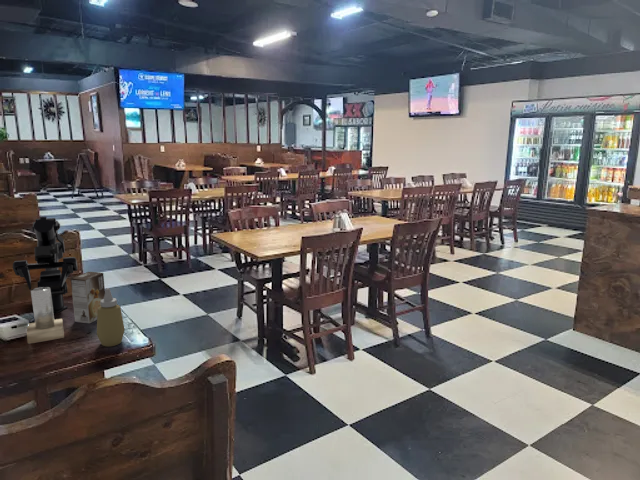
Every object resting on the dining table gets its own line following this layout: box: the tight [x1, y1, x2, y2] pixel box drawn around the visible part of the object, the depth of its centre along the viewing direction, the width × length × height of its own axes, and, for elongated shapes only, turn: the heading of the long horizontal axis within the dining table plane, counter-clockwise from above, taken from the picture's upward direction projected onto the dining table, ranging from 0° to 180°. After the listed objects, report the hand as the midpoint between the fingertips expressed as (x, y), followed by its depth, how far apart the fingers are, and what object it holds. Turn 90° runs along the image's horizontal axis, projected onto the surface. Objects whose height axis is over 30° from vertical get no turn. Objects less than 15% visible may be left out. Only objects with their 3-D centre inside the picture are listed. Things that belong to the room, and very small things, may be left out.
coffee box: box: [70, 271, 106, 324], centre depth 163 cm, size 9×6×16 cm
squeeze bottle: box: [96, 287, 125, 347], centre depth 144 cm, size 8×8×18 cm
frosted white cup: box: [30, 286, 55, 329], centre depth 149 cm, size 5×5×12 cm
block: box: [26, 318, 65, 344], centre depth 150 cm, size 10×10×3 cm
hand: (45, 287), depth 155 cm, fingers open, 9 cm apart
